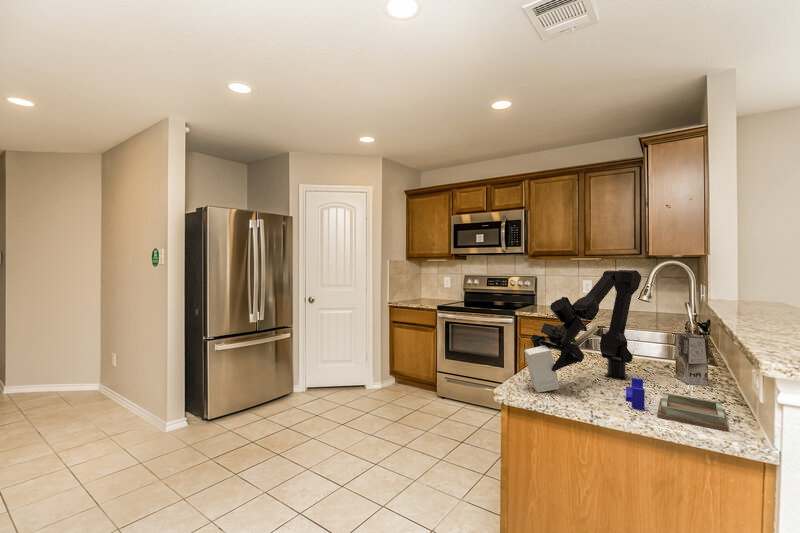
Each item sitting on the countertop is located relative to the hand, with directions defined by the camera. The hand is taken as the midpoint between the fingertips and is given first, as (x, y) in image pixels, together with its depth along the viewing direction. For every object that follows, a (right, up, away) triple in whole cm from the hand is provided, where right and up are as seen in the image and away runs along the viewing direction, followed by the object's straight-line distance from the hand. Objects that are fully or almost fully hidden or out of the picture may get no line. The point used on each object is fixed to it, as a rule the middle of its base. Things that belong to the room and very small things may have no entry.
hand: (541, 366), depth 130 cm
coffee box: (+56, -8, +10) cm, 58 cm away
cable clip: (+24, -8, -11) cm, 28 cm away
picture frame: (+34, -8, -20) cm, 41 cm away
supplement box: (+2, -7, 0) cm, 7 cm away
